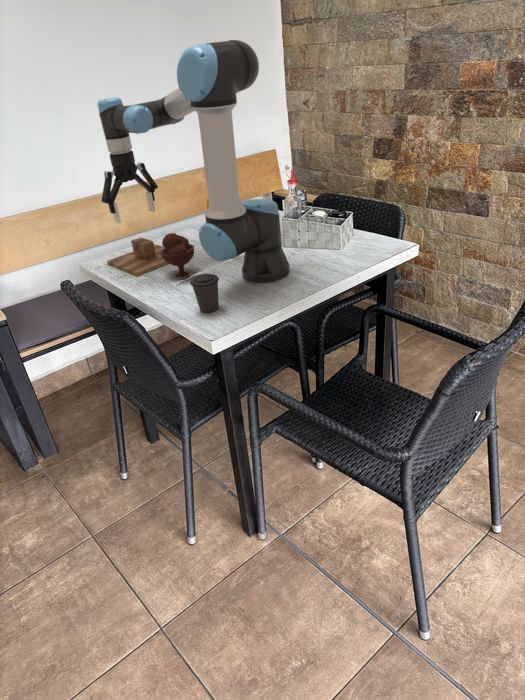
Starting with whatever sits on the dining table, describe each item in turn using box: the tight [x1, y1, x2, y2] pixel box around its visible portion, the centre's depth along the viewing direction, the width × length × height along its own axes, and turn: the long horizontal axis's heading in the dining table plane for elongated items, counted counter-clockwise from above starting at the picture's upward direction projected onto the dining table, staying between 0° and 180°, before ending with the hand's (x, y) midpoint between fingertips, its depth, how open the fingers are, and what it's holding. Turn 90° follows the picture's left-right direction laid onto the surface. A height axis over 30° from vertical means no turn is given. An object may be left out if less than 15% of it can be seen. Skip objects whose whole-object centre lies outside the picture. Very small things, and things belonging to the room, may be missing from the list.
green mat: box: [104, 263, 172, 280], centre depth 188 cm, size 22×22×1 cm
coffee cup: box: [189, 273, 220, 315], centre depth 148 cm, size 8×8×10 cm
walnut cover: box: [106, 237, 169, 277], centre depth 186 cm, size 20×20×8 cm
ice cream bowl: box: [161, 232, 195, 281], centre depth 170 cm, size 11×11×15 cm
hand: (135, 216), depth 180 cm, fingers open, 13 cm apart
